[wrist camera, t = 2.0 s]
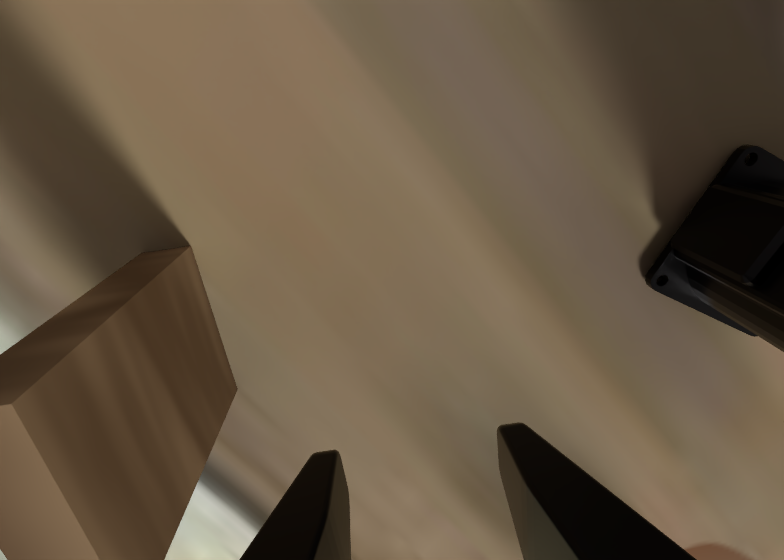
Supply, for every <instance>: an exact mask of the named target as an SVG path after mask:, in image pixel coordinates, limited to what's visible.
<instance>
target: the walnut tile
mask: <svg viewBox="0 0 784 560" xmlns="http://www.w3.org/2000/svg"><path fill="white" fill-rule="evenodd" d="M236 392H237V386H236V383H235V380H234V377H233V374H232V371H231V368H230V365H229V362H228V359H227V355H226V352H225V349H224V346H223V343H222V340H221V337H220V334H219V331H218V328H217V325H216V322H215V318H214V315H213V312H212V309H211V306H210V303H209V300H208V297H207V294H206V291H205V288H204V285H203V282H202V278H201V275H200V272H199V269H198V266H197V263H196V260H195V257H194V254H193V251H192V248H191V246H186V247H180V248H173V249H166V250H159V251H153V252H146V253H141V254H140V255H138V256H137V257H135V258H134V259H133V260H131V261H130V262H129V263H127V264H126V265H124V266H123V267H122V268H120V269H119V270H117V271H116V272H115V273H113V274H112V275H110V276H109V277H108V278H106V279H105V280H104V281H102V282H101V283H99V284H98V285H97V286H95V287H94V288H92V289H91V290H90V291H88V292H87V293H85V294H84V295H83V296H81V297H80V298H78V299H77V300H76V301H74V302H73V303H72V304H70V305H69V306H67V307H66V308H65V309H63V310H62V311H60V312H59V313H58V314H56V315H55V316H53V317H52V318H51V319H49V320H48V321H47V322H45V323H44V324H42V325H41V326H40V327H38V328H37V329H35V330H34V331H33V332H31V333H30V334H28V335H27V336H26V337H24V338H23V339H22V340H20V341H19V342H17V343H16V344H15V345H13V346H12V347H10V348H9V349H8V350H6V351H5V352H3V353H2V354H1V355H0V549H1V551H2V552H3V554H4V555H5V557H6V558H7V559H8V560H164V559H165V556H166V554H167V552H168V549H169V547H170V545H171V542H172V540H173V538H174V535H175V533H176V531H177V528H178V526H179V524H180V522H181V519H182V517H183V515H184V512H185V510H186V508H187V505H188V503H189V501H190V498H191V496H192V494H193V491H194V489H195V487H196V484H197V482H198V480H199V477H200V475H201V473H202V471H203V468H204V466H205V464H206V461H207V459H208V457H209V454H210V452H211V450H212V447H213V445H214V443H215V440H216V438H217V436H218V433H219V431H220V429H221V426H222V424H223V422H224V420H225V417H226V415H227V413H228V410H229V408H230V406H231V403H232V401H233V399H234V396H235V394H236Z"/></svg>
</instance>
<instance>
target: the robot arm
mask: <svg viewBox="0 0 784 560" xmlns="http://www.w3.org/2000/svg"><path fill="white" fill-rule="evenodd" d="M748 154H750V158H749V160H748V161H747V162H746V163H745V161H744V160H745V158H746V156H747V155H748ZM662 275H663V277H662V279H661V280H660V281H659V282H656V281H657V279H658V277H660V276H662ZM645 281H646V284H647V285H648V286H649V287H651V288H652V289H654V290H655V291H657V292H659V293H661V294H664V295H666V296H668V297H670V298H672V299H674V300H676V301H678V302H680V303H683V304H685V305H687V306H689V307H691V308H693V309H695V310H697V311H700V312H702V313H704V314H706V315H708V316H710V317H712V318H714V319H716V320H719V321H721V322H723V323H725V324H727V325H729V326H731V327H733V328H736V329H738V330H740V331H742V332H744V333H746V334H748V335H750V336H759V337H760V338H762V339H764V340H765V341H767V342H769V343H770V344H772V345H773V346H775V347H777V348H778V349H780V350H781V351H783V352H784V161H783V160H781V159H779V158H778V157H776V156H774V155H773V154H771V153H769V152H768V151H766V150H764V149H762V148H761V147H758V146H753V145H743V146H741V147H739V148H737V149H736V150H735V152H734V153H733V154H732V155H731V157H730V158H729V160H728V161H727V162H726V164H725V165H724V167H723V168H722V169H721V171H720V172H719V174H718V175H717V176H716V178H715V179H714V181H713V182H712V183H711V185H710V186H709V188H708V189H707V190H706V192H705V193H704V195H703V196H702V197H701V199H700V200H699V202H698V203H697V204H696V206H695V207H694V209H693V210H692V211H691V213H690V214H689V216H688V217H687V218H686V220H685V221H684V223H683V224H682V225H681V227H680V228H679V230H678V231H677V232H676V234H675V235H674V237H673V238H672V239H671V241H670V242H669V244H668V245H667V246H666V248H665V249H664V251H663V252H662V253H661V255H660V256H659V258H658V259H657V260H656V262H655V263H654V265H653V266H652V267H651V269H650V270H649V272H648V273H647V275H646V279H645ZM497 443H498V459H499V469H500V475H501V479H502V483H503V486H504V490H505V493H506V497H507V501H508V504H509V508H510V511H511V515H512V519H513V522H514V526H515V529H516V533H517V537H518V540H519V544H520V548H521V551H522V555H523V558H524V560H696V559H695V558H694V557H693V556H691V555H690V554H689V553H688V552H686V551H685V550H684V549H682V548H681V547H680V546H679V545H677V544H676V543H675V542H674V541H672V540H671V539H670V538H669V537H667V536H666V535H665V534H663V533H662V532H661V531H660V530H658V529H657V528H656V527H655V526H653V525H652V524H651V523H650V522H648V521H647V520H646V519H645V518H643V517H642V516H641V515H639V514H638V513H637V512H636V511H634V510H633V509H632V508H631V507H629V506H628V505H627V504H626V503H624V502H623V501H622V500H620V499H619V498H618V497H617V496H615V495H614V494H613V493H612V492H610V491H609V490H608V489H607V488H605V487H604V486H603V485H601V484H600V483H599V482H598V481H596V480H595V479H594V478H593V477H591V476H590V475H589V474H588V473H586V472H585V471H584V470H582V469H581V468H580V467H579V466H577V465H576V464H575V463H574V462H572V461H571V460H570V459H569V458H567V457H566V456H565V455H563V454H562V453H561V452H560V451H558V450H557V449H556V448H555V447H553V446H552V445H551V444H550V443H548V442H547V441H546V440H545V439H543V438H542V437H541V436H539V435H538V434H537V433H536V432H534V431H533V430H532V429H531V428H529V427H528V426H527V425H525V424H523V423H512V424H505V425H500V426H499V427H498V429H497ZM240 560H351V542H350V506H349V492H348V486H347V482H346V477H345V473H344V469H343V465H342V460H341V456H340V454H339V452H338V451H337V450H329V451H322V452H316V453H314V454H313V455H311V457H310V458H309V459H308V461H307V462H306V464H305V465H304V467H303V468H302V470H301V471H300V473H299V474H298V475H297V477H296V478H295V480H294V481H293V483H292V484H291V486H290V487H289V489H288V490H287V491H286V493H285V494H284V496H283V497H282V499H281V500H280V502H279V503H278V505H277V506H276V507H275V509H274V510H273V512H272V513H271V515H270V516H269V518H268V519H267V521H266V522H265V523H264V525H263V526H262V528H261V529H260V531H259V532H258V534H257V535H256V537H255V538H254V539H253V541H252V542H251V544H250V545H249V547H248V548H247V550H246V551H245V553H244V554H243V555H242V557H241V558H240Z"/></svg>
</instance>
